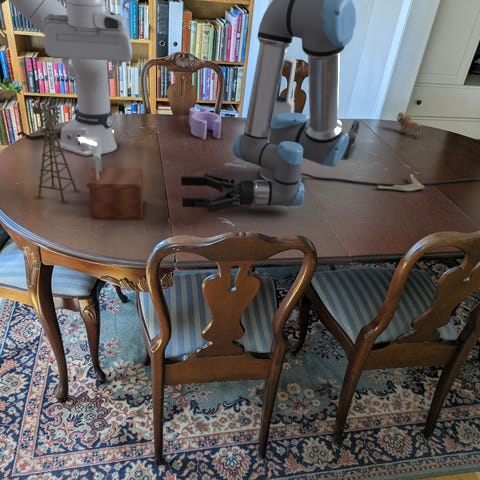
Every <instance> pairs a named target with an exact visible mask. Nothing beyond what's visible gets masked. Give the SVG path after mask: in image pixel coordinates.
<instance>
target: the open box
mask: <svg viewBox="0 0 480 480" xmlns="http://www.w3.org/2000/svg"><path fill="white" fill-rule="evenodd" d="M88 194H89V204H90V205H89V206H90V215H91V219H118V220H119V219H122V220H123V219H126V220H127V219H128V220H130V219H131V220H142V218H143V209H144V174H142V182H141V189H137V188H96V187H88Z"/></svg>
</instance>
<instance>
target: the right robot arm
mask: <svg viewBox="0 0 480 480" xmlns="http://www.w3.org/2000/svg"><path fill="white" fill-rule="evenodd" d="M356 24H357V11H356V7H355V4H354V2H353V0H272V1H271V2H270V3H269V5H268V6H267V8H266V10H265V11H264V13H263V16H262V18H261V20H260V23H259V26H258V30H257V37H256V38H257V40H258V42H259V47H258V52H257V57H256V64H255V69H254V75H253V79H252V86H251V91H250V97H249V103H248V109H247V113H246V119H245V124H244V132H243V133H241V134H239V135H237V136H236V137H235V139H234V142H233V144H232V153H233V156H235V158H237V159H239V160H241V161H243V162H245V163H248V164H249V163H250V164H252V165H255V166H257V167H258V166H259V167H260V170H259V178H260V179H255V180H251V179H241V180H240V181H239V182H238V184H237V183H236V179H235V178H231V177H224V176H220V175H216V174H212V173H205V172H204V175H203V176H189V175H188V176H187V175H186V176H184V175H182V176H181V178H180V185H181V186H189V187H191V186H192V187H193V186H194V187H205V186H206V187H209V188H212V189H215V190H216V191H219V193H220V194H217V195H215V196H212V197H210V198H209V197H186V196H183V197H181V198H182V199H181V207H182V208H204V209H206V210H208V212H209V213H214V212H218V211H222V210H226V209H230V208H239V207H240V206H252V205H253V206H260V207H261V206H271V207H272V206H274V207H275V206H276V207H296V206H301V205H302V204H303V202H304V200H305V193H306V192H305V191H306V189H305V184H304V183H303V176H305V177H307V178H310V179H311V178H312V179H315V180H320V181H321V180H324V181H338V182H345V183H352V184H359V185H360V184H362V185H370V186H378V185H380V186H387V187H393V186H394V185H409V184H410V185H411V183H381V182H368V181H360V180H352V179H344V178H335V177H322V176H315V175H312V174H310V173H309V174H308V173H306V172H305V173H304V172H303V170H302V164H303V162H304V161H303V159H304V160H308V161H310V162H312V163H313V162H314V163H315V164H319V165H320V166H324V167H325V166H326V167H328V168H329V167H330V168H333V167H335V166H337V165H338V164H339V163H340V161H341V160H342V158H343V155H344V153H345V151H346V148H347V145H348V142H349V135H348V133H347V132H343V124H342V121H340V119H339V118H338V117H339V92H340V91H339V89H340V86H339V85H340V58H341V57H340V56H341V55H340V54H341V53H342V52H343V51H344V50H345V49H346V46H348V45H349V44H350V42H351V41H352V39H353V36H354V33H355V28H356ZM293 38H298V39H301V49H302V52H303V53H304V54H305V55H306V56H307V69H308V72H307V73H308V74H307V75H308V76H307V77H308V110H309V111H308V112H309V113H308V114H309V117H308V115H306V114H304V113H301V112H294V113H293V112H289V113H280V114H277V115H276V116H274V117H273V119H272V116H273V111H274V106H275V102H276V97H277V92H278V87H279V82H280V78H281V73H282V74H283V71H282V68H283V69H284V64H285V62H284V59H285V57H286V53H287V49H288V48H289V47H290V46H291V45H292V43H293ZM283 63H284V64H283ZM271 121H272V124H271ZM270 126H271V127H270ZM473 181H480V178H477V177H476V178H461V179H450V180H441V181H432V182H431V181H430V182H420V183H421V184H422V185H424V186H428V185H429V186H430V185H440V184H448V183H457V182H458V183H459V182H473Z"/></svg>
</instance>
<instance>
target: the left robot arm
mask: <svg viewBox="0 0 480 480" xmlns="http://www.w3.org/2000/svg"><path fill="white" fill-rule="evenodd" d="M8 1H9V2H10V4H11V5H12V6H13V7H14V8H15V9H16V10H17V11H18V12H19V14H21V15H22V16H23V17H24V18H25V19H26V20H27V21H28V22H29V23H30V24H32V25H33V26H34V28H36V29H37V30H38V31H39V32H41V33H42V34H43V35H44V49H45V53H46V54H47V56H48V57H51V58H61V63H62V64H63V65H64V67H65V69H67V74H68V75H67V76H68V77H71V78H72V77H73V79H74V83H75V88H76V90H75V91H76V99H77V108H76V109H75V110H74V111H71V115H72V116H74V115H75V116H74V118H73V119H72V120H71V121H69V122H68V123H67V124H65V125H64V126H63V127H60V129H62V130H61V131H59V132H58V133H56V135H57V138H59V139H58V140H59V143H60V146H61V148H62V150H65V151H69V152H72V153H74V154H78V155H80V156H84V157H85V156H86V157H87V156H93V155H94V152H95V149H96V147H101V148H102V153H101V155H105V154H108V153H111V152H114V151H115V150H116V149H117V148H118V145H117V142H116V140H115V135H114V132H115V131H114V130H113V111H112V109H111V97H110V86H109V80H115V71H116V70H117V68H118V65H119V62H126V63H129V62H130V61H131V60H132V59H133V45H132V40H131V35H130V33H129V30H128V29H127V28H125V27H126V25H127V21H126V17H125V16H123V15H121V14H118V13H116V12H113V11H111V10H108V9H107V6H106V5H107V3H106V0H65V6H64V5H63V3H61V2H60V1H59V0H8ZM5 2H7V0H0V5H2V4H4V3H5ZM69 61H71V64H70V63H69ZM107 61H109V62H110V61H111V66H113V67H112V69H110V70H108V69H107V68H108V67H107ZM21 135H22V136H24V137H26V139H27V138H28V139H31V140H33V139H34V140H35V139H40V138H45V134H39V135H29V134H27V133H26V132H24V131H19V132H18V133H17V134H16V136H21ZM48 136H49V135H47V137H48ZM52 137H55V135H54V134H52ZM52 139H53V138H52ZM47 140H49V138H47ZM53 140H54V139H53ZM54 147H57V148H59V146H58V143H57V141H55V142H54Z"/></svg>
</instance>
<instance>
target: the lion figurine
mask: <svg viewBox="0 0 480 480" xmlns="http://www.w3.org/2000/svg"><path fill="white" fill-rule="evenodd" d="M396 121H397V122H398V123H399V126H401V130H400V131H399V132H400V133H401V134H403V133H404V132H406V129H410V130H411V129H413V131H414V133H413V136H414V138H415V139H418V138H419V136H420V137H421V136H422V137H421V138H422V139H423V138H424V136H423V135H422V125H421V123H420V122H419V121H414V120H412V119H411V117H410V116H409V115H408V114H407V113H406V112H403V111H402V112H398V114H397V117H396ZM416 136H418V137H416Z"/></svg>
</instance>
